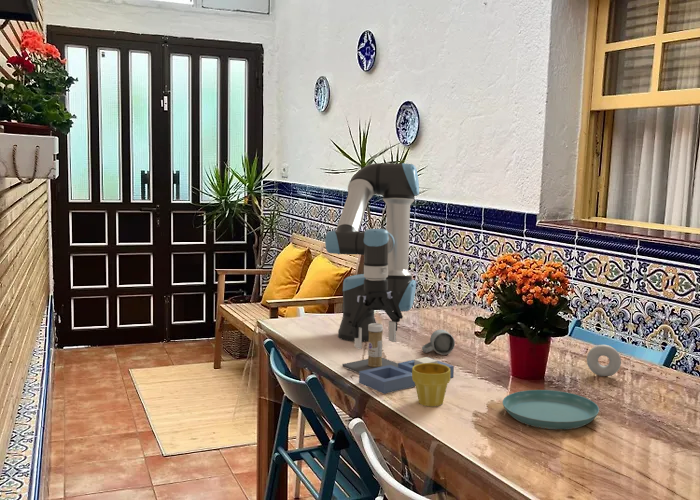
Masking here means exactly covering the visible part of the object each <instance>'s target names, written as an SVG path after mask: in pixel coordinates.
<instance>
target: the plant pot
mask: <svg viewBox="0 0 700 500" xmlns="http://www.w3.org/2000/svg"><path fill="white" fill-rule="evenodd" d="M412 380H413V381H414V382H415V390H416V395H417V400H418V404H420V405H421V406H423V407H430V408H431V407H432V408H433V407H439V406H441V405H443V403H444V400H445V396H446V391H447V389H448V388H447V387H448V384H449V383H450V381H451V378H450V368H449V367H448V366H446V365H443V364H437V363H422V364H417V365H415V366H413V368H412Z"/></svg>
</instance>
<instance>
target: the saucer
mask: <svg viewBox="0 0 700 500" xmlns="http://www.w3.org/2000/svg"><path fill="white" fill-rule="evenodd" d="M502 405H503V408H504V410H505V411H506V412H507V413H508V414H509V415H510V416H511V417H512V418H514V419H515V420H516V421H518V422H520V423H522V424H524V423H525V425H527V424H528V425H527V426H530V425H531V426H530V427H534V426H535V428H539V427H541V428H540V429H545V428H548V429H547V430H557V429H564V430H573V429H572V428H574V429H578V428H582V427H583V426H585V425H588V424H590V423H591V422H592V421H594V419H595V418H596V417H597V416H598V414H599V413H600V407H599V406H598V404H597V403H596V402H594V401H593V400H591V399H589V398H587V397H584V396H581V395H579V394H575V393H571V392H565V391H560V390H554V389H553V390H551V389H528V390H521V391H516V392H513V393H510V394H508V395H506V396H505V397H504V398H503V399H502Z"/></svg>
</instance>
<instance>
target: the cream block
mask: <svg viewBox="0 0 700 500" xmlns="http://www.w3.org/2000/svg"><path fill="white" fill-rule="evenodd" d="M428 357H429V356H426V357H420V358H416V359H413V360H414V366H415V365H417V364H422V363H437V360H438V359H435V360H434V358H432V357H429V358H428ZM431 358H432V359H431Z"/></svg>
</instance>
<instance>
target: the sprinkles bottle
mask: <svg viewBox="0 0 700 500" xmlns="http://www.w3.org/2000/svg"><path fill="white" fill-rule="evenodd" d="M368 330H369V341H368V346H367V347H368V348H367V349H368V350H367V355H368V358H367V359H368V366H370V367H380V366H382V358H383V330H384V328H383V324H382V323H378V322H376V323H371V324H369V325H368Z"/></svg>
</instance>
